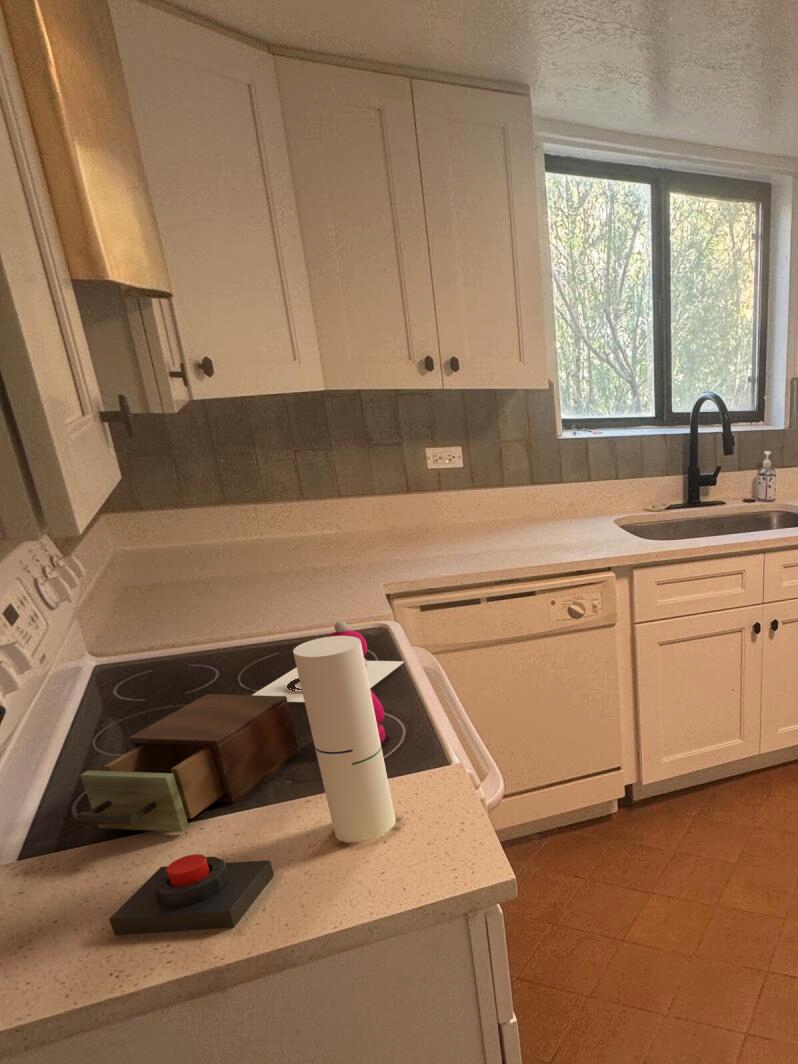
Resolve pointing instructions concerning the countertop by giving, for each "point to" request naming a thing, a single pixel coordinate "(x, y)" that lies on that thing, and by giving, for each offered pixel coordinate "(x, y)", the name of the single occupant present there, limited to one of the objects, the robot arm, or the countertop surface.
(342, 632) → the pepper mill
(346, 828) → the cylindrical container
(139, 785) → the drawer
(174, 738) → the cabinet
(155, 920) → the control block
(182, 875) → the button
